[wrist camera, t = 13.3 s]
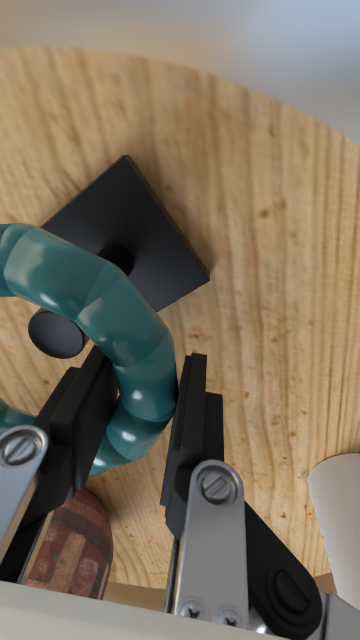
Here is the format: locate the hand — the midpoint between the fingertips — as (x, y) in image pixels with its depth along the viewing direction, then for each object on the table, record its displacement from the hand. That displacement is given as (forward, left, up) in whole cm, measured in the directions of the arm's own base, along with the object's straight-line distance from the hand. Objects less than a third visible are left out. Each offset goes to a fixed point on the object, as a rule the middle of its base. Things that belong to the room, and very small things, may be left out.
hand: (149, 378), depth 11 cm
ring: (+3, -3, +1) cm, 4 cm away
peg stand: (+3, -3, -12) cm, 12 cm away
